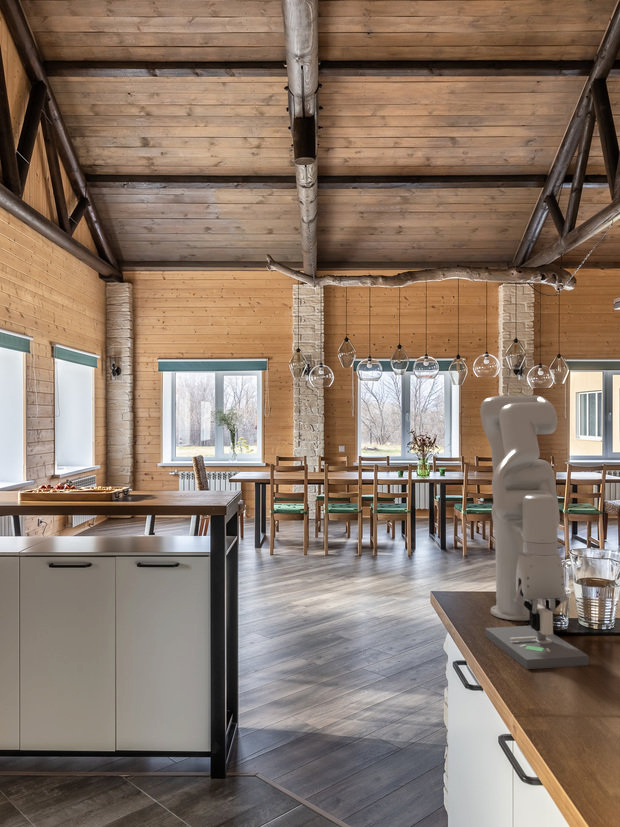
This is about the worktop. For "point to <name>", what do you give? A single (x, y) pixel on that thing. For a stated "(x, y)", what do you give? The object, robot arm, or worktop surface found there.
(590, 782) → the worktop surface
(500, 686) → the worktop surface
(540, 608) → the door lever handle
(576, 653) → the dial board
